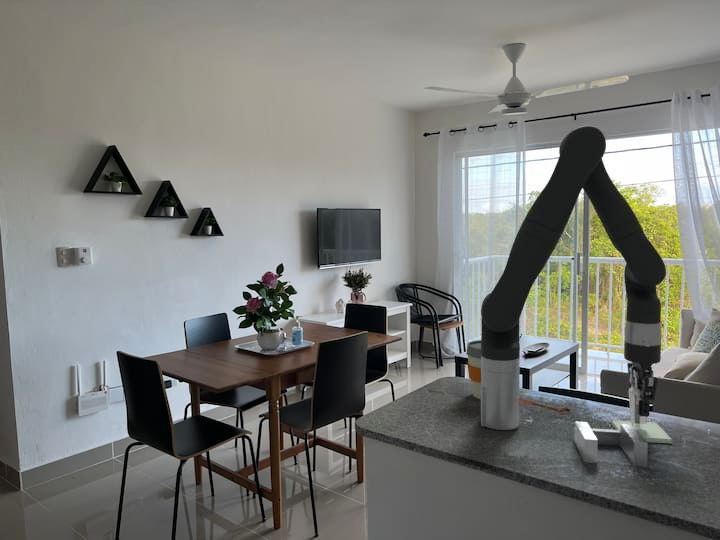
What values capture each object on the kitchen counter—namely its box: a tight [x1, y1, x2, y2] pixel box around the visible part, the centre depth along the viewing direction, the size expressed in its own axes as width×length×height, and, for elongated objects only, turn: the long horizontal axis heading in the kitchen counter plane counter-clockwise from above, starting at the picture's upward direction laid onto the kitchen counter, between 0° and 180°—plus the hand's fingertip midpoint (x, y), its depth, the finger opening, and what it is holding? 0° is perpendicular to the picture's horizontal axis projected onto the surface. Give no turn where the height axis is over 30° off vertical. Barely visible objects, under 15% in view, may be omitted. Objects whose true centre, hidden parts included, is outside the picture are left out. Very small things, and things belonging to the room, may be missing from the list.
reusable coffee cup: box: [466, 339, 481, 400], centre depth 152 cm, size 13×13×15 cm
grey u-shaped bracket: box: [573, 421, 649, 468], centre depth 114 cm, size 12×12×5 cm
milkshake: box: [628, 387, 648, 428], centre depth 123 cm, size 4×5×10 cm
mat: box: [611, 419, 673, 444], centre depth 124 cm, size 10×10×1 cm
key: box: [519, 397, 573, 416], centre depth 142 cm, size 6×1×15 cm
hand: (640, 411), depth 123 cm, fingers closed on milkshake, 4 cm apart
